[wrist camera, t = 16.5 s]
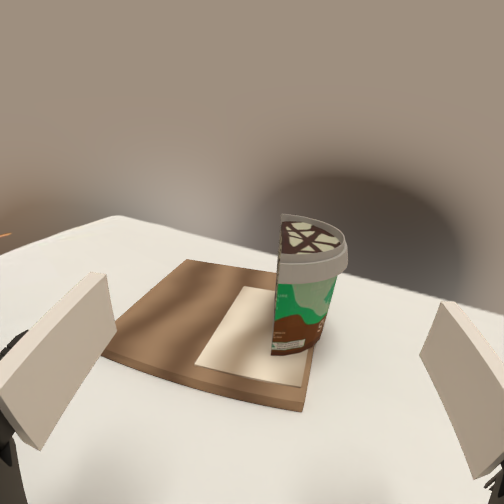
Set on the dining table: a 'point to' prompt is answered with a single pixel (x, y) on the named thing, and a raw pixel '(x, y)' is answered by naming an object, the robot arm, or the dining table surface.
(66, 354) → the robot arm
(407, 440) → the dining table surface
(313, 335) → the food container
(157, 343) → the board
